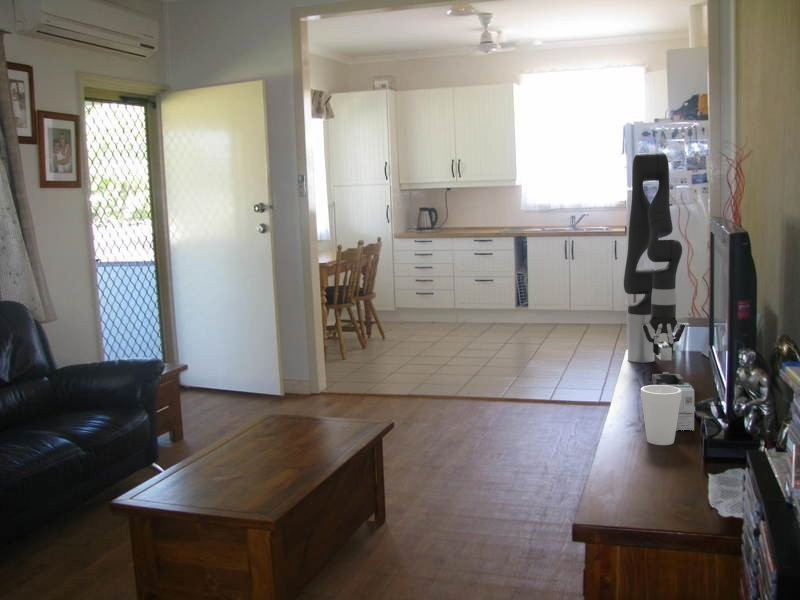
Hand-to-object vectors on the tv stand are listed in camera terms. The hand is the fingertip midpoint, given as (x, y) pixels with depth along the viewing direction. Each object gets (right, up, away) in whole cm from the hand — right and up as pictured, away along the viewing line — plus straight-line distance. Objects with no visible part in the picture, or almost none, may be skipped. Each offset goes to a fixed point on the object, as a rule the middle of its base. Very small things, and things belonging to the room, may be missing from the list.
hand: (662, 354), depth 266 cm
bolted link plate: (0, -1, 0) cm, 1 cm away
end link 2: (-2, -11, -21) cm, 23 cm away
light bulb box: (-15, -16, -53) cm, 57 cm away
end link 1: (-1, -9, -9) cm, 13 cm away
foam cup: (-21, -17, -65) cm, 70 cm away
